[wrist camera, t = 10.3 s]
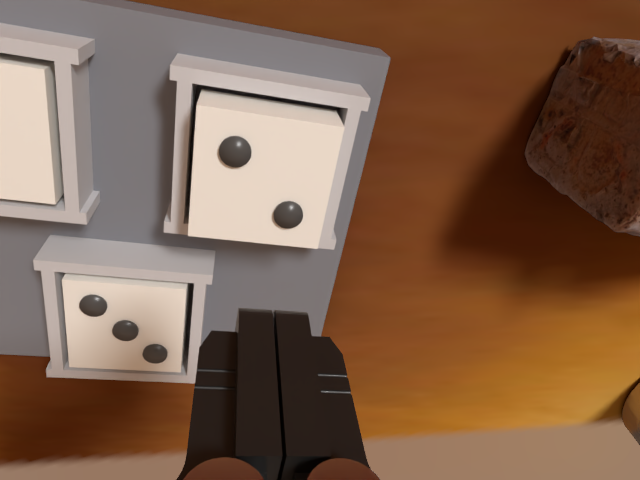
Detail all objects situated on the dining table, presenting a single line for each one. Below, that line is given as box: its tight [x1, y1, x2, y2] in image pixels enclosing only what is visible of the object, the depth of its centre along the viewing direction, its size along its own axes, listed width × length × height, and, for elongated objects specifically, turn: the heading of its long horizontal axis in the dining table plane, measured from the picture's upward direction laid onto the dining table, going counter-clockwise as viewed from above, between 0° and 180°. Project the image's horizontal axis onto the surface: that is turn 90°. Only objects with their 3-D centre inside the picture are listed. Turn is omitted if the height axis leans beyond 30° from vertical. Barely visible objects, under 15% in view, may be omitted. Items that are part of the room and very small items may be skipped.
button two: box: [188, 89, 345, 249], centre depth 19 cm, size 5×5×2 cm
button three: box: [62, 273, 190, 372], centre depth 23 cm, size 5×5×2 cm
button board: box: [0, 0, 391, 383], centre depth 22 cm, size 19×17×4 cm
